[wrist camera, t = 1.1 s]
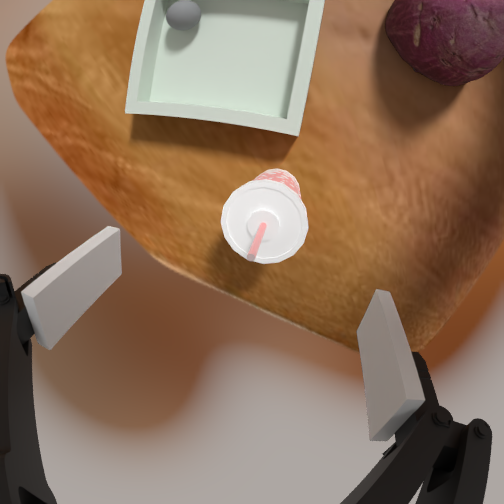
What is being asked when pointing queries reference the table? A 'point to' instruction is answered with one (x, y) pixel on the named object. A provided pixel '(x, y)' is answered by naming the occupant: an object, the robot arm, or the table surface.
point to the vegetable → (448, 37)
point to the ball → (183, 15)
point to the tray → (227, 63)
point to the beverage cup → (266, 218)
